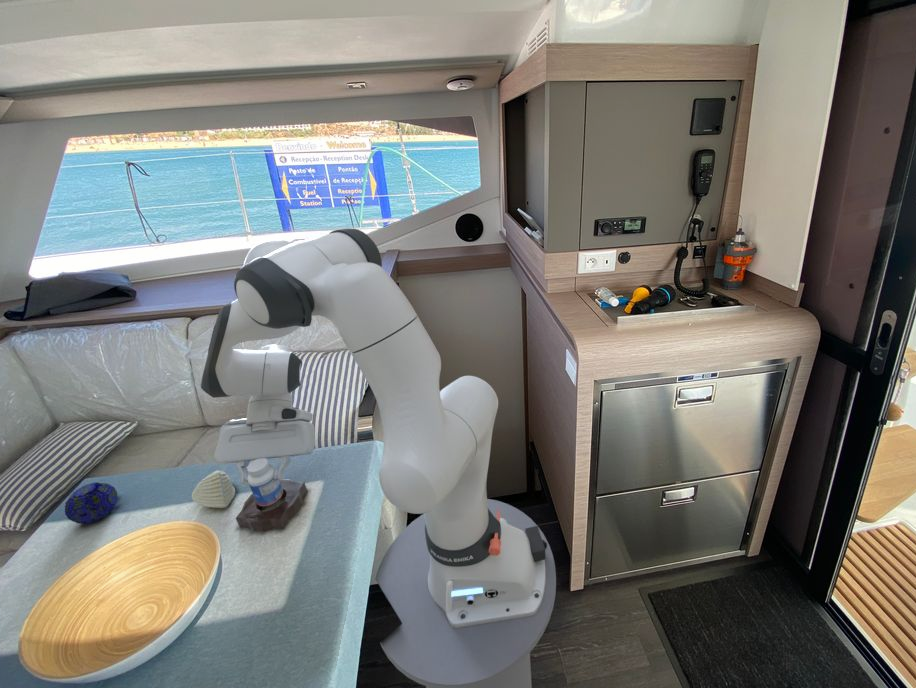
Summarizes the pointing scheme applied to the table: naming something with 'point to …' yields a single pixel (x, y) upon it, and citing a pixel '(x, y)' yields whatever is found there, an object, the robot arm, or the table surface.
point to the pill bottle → (263, 482)
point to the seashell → (214, 490)
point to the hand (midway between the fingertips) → (262, 481)
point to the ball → (91, 502)
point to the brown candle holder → (276, 516)
